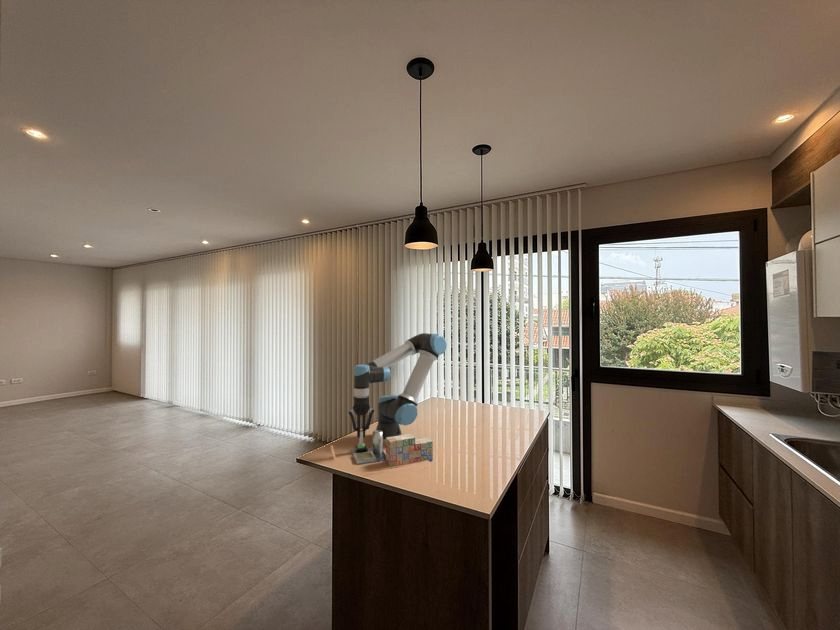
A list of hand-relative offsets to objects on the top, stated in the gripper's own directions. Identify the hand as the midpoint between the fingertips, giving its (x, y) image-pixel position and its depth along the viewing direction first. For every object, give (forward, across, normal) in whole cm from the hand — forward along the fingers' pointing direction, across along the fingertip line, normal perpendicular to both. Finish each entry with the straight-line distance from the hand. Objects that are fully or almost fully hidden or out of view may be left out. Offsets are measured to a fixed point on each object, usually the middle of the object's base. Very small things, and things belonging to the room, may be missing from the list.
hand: (361, 443), depth 167 cm
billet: (+4, -8, +3) cm, 9 cm away
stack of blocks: (+5, -20, +17) cm, 27 cm away
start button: (+3, 0, 0) cm, 3 cm away
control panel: (+5, -3, +6) cm, 8 cm away
